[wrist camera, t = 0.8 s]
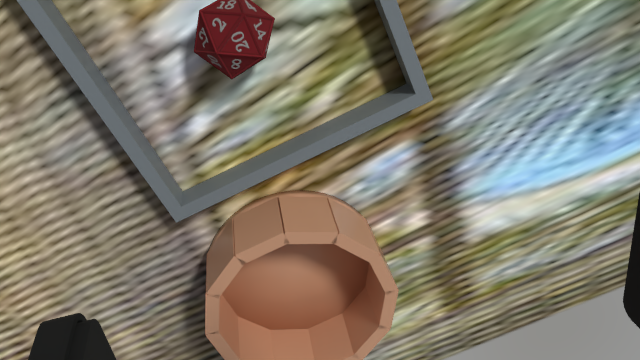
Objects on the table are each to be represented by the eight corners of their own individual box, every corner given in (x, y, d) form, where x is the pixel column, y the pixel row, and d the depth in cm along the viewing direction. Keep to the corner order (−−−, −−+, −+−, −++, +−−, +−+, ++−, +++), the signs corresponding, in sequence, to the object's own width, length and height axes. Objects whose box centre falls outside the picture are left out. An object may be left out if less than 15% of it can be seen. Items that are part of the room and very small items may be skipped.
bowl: (337, 160, 36) (353, 199, 32) (400, 287, 42) (420, 334, 38) (172, 239, 37) (167, 287, 33) (256, 353, 43) (261, 406, 38)
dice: (284, 42, 32) (292, 63, 29) (210, 72, 32) (209, 97, 29) (257, -25, 30) (263, -11, 27) (178, 8, 30) (173, 27, 27)
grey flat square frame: (307, -220, 26) (313, -225, 25) (423, 88, 35) (432, 99, 33) (-5, -53, 28) (-19, -49, 26) (178, 207, 36) (176, 222, 34)
